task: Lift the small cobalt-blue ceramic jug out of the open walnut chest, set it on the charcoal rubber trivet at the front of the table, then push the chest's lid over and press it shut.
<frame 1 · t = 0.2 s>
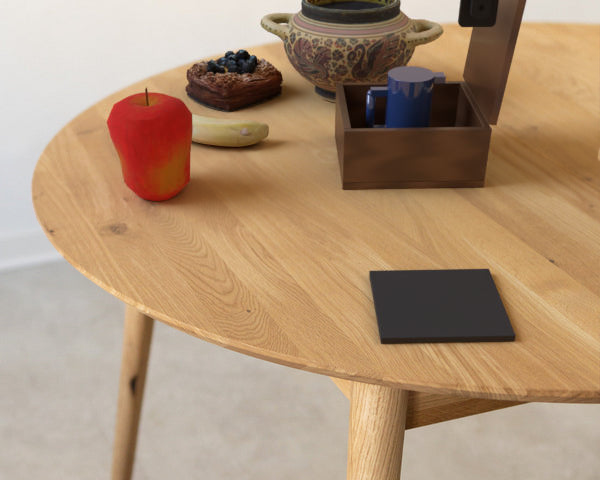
hand: (464, 10, 72), 20 cm above the table, tool pointing down, fingers open, 9 cm apart
ceramic bowl: (348, 93, 110), on the table
jug: (405, 153, 91), point 1 cm above the table, touching chest
trivet: (437, 306, 68), on the table
pastry: (234, 95, 110), on the table
fruit: (213, 136, 98), on the table
apple: (159, 192, 86), on the table
chest: (404, 159, 92), on the table
chest lid: (494, 25, 83), point 15 cm above the table, hinge at 95.0°
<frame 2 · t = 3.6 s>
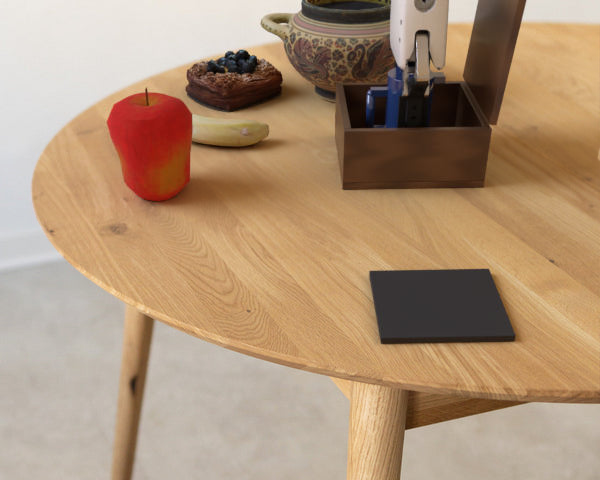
hand: (407, 118, 89), 5 cm above the table, tool pointing down, fingers closed on jug, 5 cm apart
jug: (405, 153, 91), point 1 cm above the table, touching chest, gripper
everything else where it was.
when the fingers open (5 cm above the table, at t = 12.1 s): jug stays where it is, resting on trivet.
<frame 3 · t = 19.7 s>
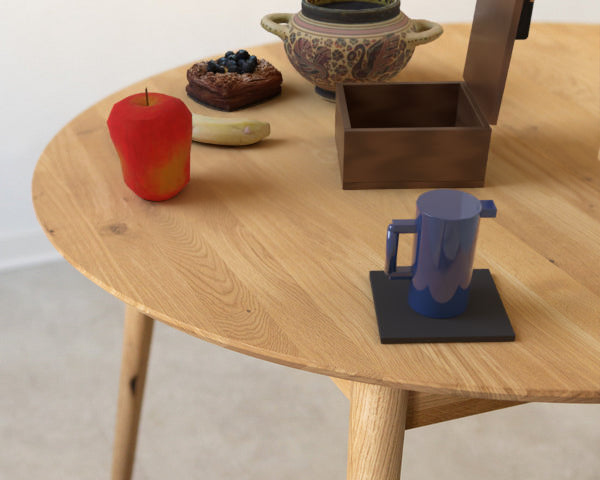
hand: (511, 37, 84), 14 cm above the table, tool pointing down, fingers closed
jug: (437, 301, 67), point 1 cm above the table, touching trivet
chest lid: (493, 24, 83), point 15 cm above the table, hinge at 93.7°, touching gripper
everything else where it was.
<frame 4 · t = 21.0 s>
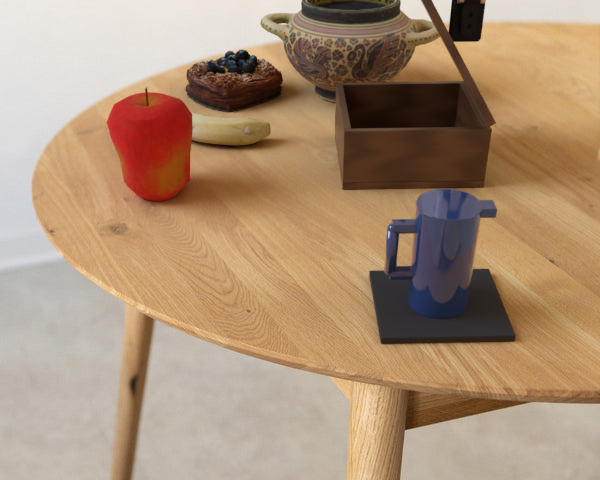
hand: (464, 39, 84), 14 cm above the table, tool pointing down, fingers closed
chest lid: (445, 37, 84), point 14 cm above the table, hinge at 57.5°, touching gripper
everything else where it was.
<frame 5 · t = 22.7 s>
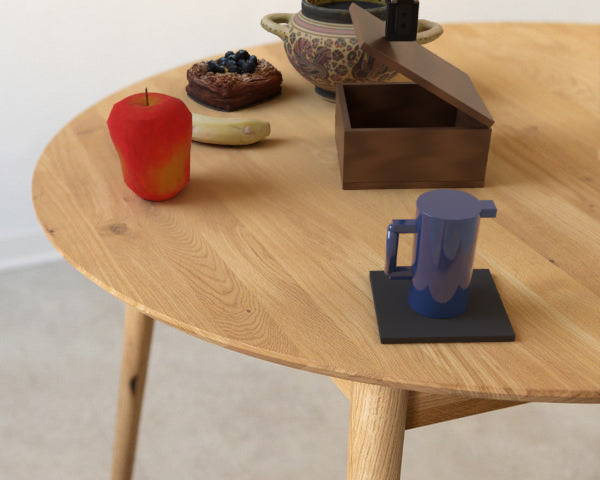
hand: (400, 38, 84), 14 cm above the table, tool pointing down, fingers closed
chest lid: (418, 62, 85), point 12 cm above the table, hinge at 31.1°
everything else where it was.
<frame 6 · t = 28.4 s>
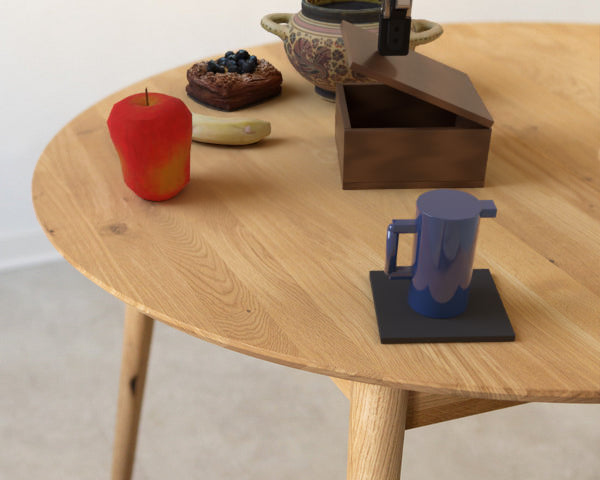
hand: (392, 53, 85), 13 cm above the table, tool pointing down, fingers closed
chest lid: (413, 71, 86), point 11 cm above the table, hinge at 23.4°
everything else where it was.
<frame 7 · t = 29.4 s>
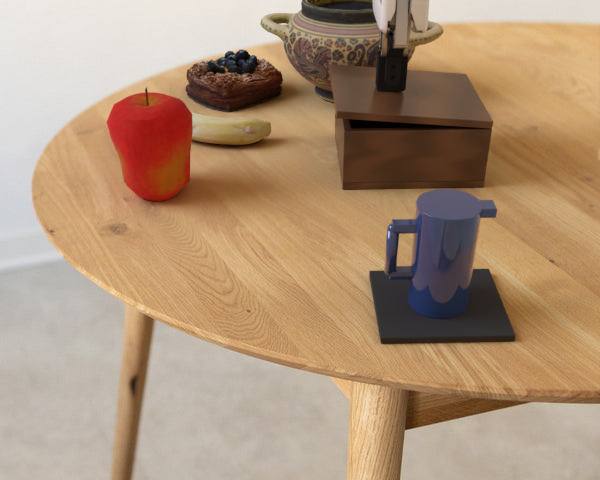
hand: (390, 88, 87), 9 cm above the table, tool pointing down, fingers closed
chest lid: (405, 94, 87), point 8 cm above the table, hinge at 4.8°, touching gripper
everything else where it was.
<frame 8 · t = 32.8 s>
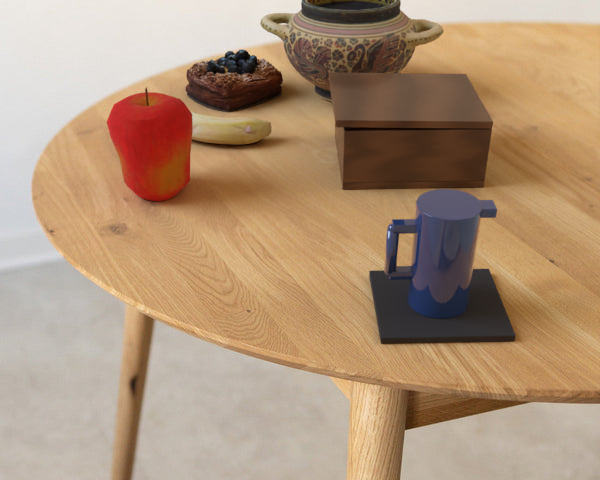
chest lid: (405, 98, 88), point 7 cm above the table, hinge at 1.4°
everything else where it was.
at the end: jug inside the target area on the trivet (0.1 cm from its centre), point 0.6 cm above the trivet's base; jug tilted 0°; chest lid at +1° (first picture: +95°) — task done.
